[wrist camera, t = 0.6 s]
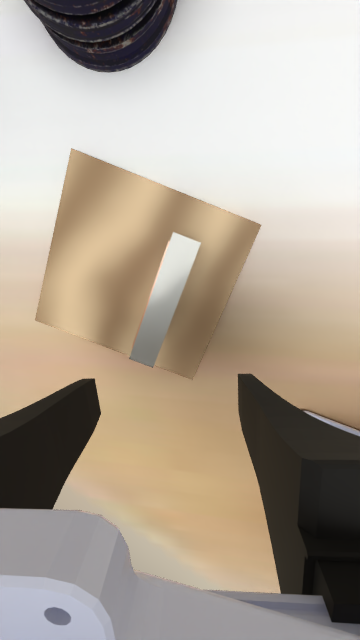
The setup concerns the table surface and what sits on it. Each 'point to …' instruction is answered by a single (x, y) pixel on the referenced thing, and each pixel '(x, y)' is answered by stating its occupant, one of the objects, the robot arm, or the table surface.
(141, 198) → the wooden board
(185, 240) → the tile
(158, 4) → the storage jar
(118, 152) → the table surface
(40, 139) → the table surface
